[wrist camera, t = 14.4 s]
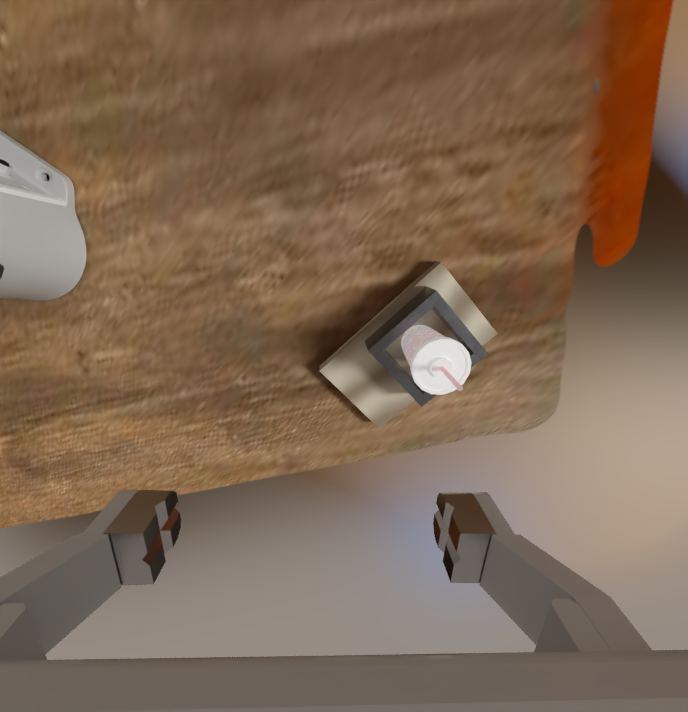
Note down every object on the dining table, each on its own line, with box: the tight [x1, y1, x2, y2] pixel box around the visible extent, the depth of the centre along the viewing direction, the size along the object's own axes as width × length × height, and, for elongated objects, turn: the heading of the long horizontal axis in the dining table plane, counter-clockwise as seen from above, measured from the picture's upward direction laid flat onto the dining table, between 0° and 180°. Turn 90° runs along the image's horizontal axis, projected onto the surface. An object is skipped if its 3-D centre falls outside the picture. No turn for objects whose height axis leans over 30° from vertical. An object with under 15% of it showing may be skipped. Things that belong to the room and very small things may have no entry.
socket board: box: [319, 261, 497, 429], centre depth 43 cm, size 12×20×2 cm, turn 133°
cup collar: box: [365, 286, 488, 407], centre depth 39 cm, size 10×10×4 cm
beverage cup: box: [401, 325, 472, 395], centre depth 35 cm, size 6×6×14 cm
